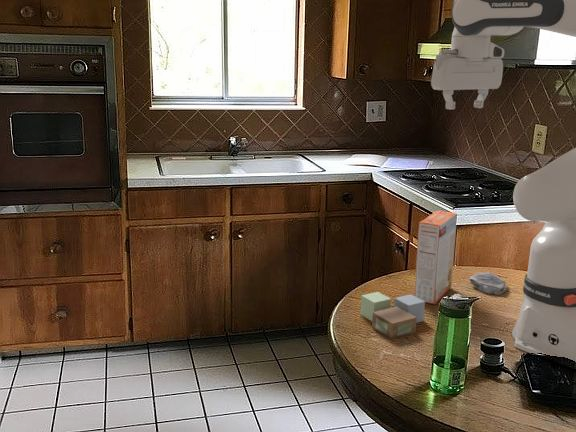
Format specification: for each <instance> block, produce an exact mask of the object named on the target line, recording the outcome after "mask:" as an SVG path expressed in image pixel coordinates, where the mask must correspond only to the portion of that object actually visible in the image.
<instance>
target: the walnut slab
mask: <svg viewBox="0 0 576 432" xmlns="http://www.w3.org/2000/svg"><path fill="white" fill-rule="evenodd" d="M416 321H417V317H415V316H413V315H412V314H410V313H408V312H406V311H404V310H402V309H400V308H398V307H397V306H396V307H394V306H393V307H392V306H391V308H388V309H384V310H380V311H376V312H373V315H372V321H371V328H372V329H374V330H375V331H377V332H379V333H380V334H382V335H383V336H385V337H387V338H388V339H391V340H394V339H397V338H401V337H406V336H408V335H413V334H416V332H417V331H416V330H417V323H416Z"/></svg>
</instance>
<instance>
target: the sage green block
mask: <svg viewBox="0 0 576 432" xmlns="http://www.w3.org/2000/svg"><path fill="white" fill-rule="evenodd" d="M360 296H361V298H360V313H359V315H360V316H362V317H363V318H366V319H367V320H369V321H370V322H372V315H373V312H376V311H380V310H384V309H388V308H392V305H391V304H392V298H391V297H389V296H387V295H386V294H383V293H381V292H379V291H375V292H370V293H368V294H367V293H366V294H362V295H360Z"/></svg>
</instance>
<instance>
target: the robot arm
mask: <svg viewBox="0 0 576 432" xmlns="http://www.w3.org/2000/svg"><path fill="white" fill-rule="evenodd" d="M450 11H451V13H450V14H451V20H452V21H451V22H452V24H453V25H454V28H453V31H452V34H451V43H450V45H451V46H450V49H441V50H440V51H439V52H438V53H437V54H436V56H435V62H434V65H433V69H432V73H431V74H432V75H431V79H430V80H431V81H430V86H431V88H432V89H433V90H435V91H436V90H437V91H442V95H443V96H442V97H443V98H444V101H445V110H455V109H456V101H454V100H453V96H452V95H454V91H461V90H462V91H464V90H465V91H466V90H477V93H478V95H477V98H476V99H475V100H473V108H476V109H483V108H484V102H485V100H486V99H487V96H488V94H489V90H497V89H499V87H501V85H502V81H503V80H502V79H503V72H504V62H503V60H502V58H504V56H505V49H504V48H503V47H501V46H499V45H497V44H495V43H493V42H492V41H491V37H492V36H505V37H506V36H513V35H516V34H519V33H520V32H521V31H522V30H523V29H524V28H533V29H539V30H544V31H548V32H552V33H557V34H561V35H567V36H570V37H575V38H576V0H454V1H453V4H452V7H451V10H450ZM512 199H513V205H514V207H515V210H516V212H517V213H518V214H519V216H521V217H522V218H523V219H525V220H527V221H530V222H535V223H544V225H543V227H542V229H540V232H538V234H537V235H536V236H535V237H534V238H533V240H532V242H531V244H530V248H529V249H530V250H529V251H530V252H529V258H528V264H527V266H528V267H527V273H526V274H525V275H524V280H523V288H522V291H523V298H522V303H521V306H520V310H519V314H518V317H517V320H516V323H515V325H514V327H513V329H512V332H511V334H512V335H511V336H512V338H513V339H514V344H513V345H514V347H515V348H517V349H519V350H521V351H524V352H526V353H528V354H531V353H542V354H546V355H550V356H557V357H565V358H568V359H571V360H573V361H575V362H576V147H574V148H572V149H571V150H569V151H567V152H565V153H564V154H562V155H561V156H558V157H556V158H555V159H554V160H553V161H551V162H549V163H547V164H546V165H544V166H542V167H541V168H539V169H537V170H536V171H534V172H531V173H529V174H527V175H525V176H523V177H521V178H520V179H519V180H518V181H517V182H516V184H515V186H514V189H513V193H512Z"/></svg>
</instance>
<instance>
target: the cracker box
mask: <svg viewBox="0 0 576 432" xmlns="http://www.w3.org/2000/svg"><path fill="white" fill-rule="evenodd" d="M457 220H458V213H457V212H450V211H445V210H436V211H434V212H433V213H431V214H430V215H428V216H427V217H426V218H424V219H422V220H420V221H419V222H418V228H417V229H418V230H417V231H418V233H417V249H416V250H417V251H416V265H415V277H414V278H415V281H414V294H413V296H415V297H417V298H419V299H421V300H423V301H425V304H429V305H436V304H437V302H439V301H440V299H442V298H443V296H445V294H447V292H448V291H449V290H450V289H451V288H452V282H453V269H454V256H455V255H454V254H455V247H456V246H455V244H456V235H457V234H456V232H457Z"/></svg>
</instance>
